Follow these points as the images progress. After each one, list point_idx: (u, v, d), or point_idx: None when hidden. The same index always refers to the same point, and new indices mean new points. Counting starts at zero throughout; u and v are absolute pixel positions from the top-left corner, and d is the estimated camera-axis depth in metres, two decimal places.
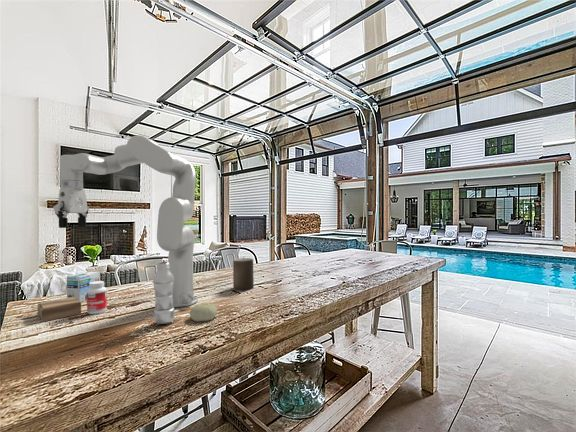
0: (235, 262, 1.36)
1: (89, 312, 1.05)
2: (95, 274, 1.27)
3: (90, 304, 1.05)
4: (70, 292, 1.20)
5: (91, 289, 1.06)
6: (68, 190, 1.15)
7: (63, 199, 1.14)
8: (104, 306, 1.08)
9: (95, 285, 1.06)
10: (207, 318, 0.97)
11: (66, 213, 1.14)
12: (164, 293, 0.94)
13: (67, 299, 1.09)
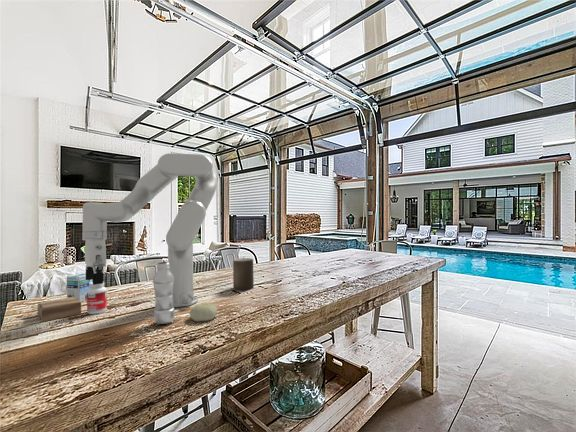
0: (235, 262, 1.36)
1: (89, 312, 1.05)
2: None
3: (90, 304, 1.05)
4: (70, 292, 1.20)
5: (91, 289, 1.06)
6: (104, 242, 1.06)
7: (99, 252, 1.04)
8: (104, 306, 1.08)
9: (95, 285, 1.06)
10: (207, 318, 0.97)
11: None
12: (164, 293, 0.94)
13: (67, 299, 1.09)
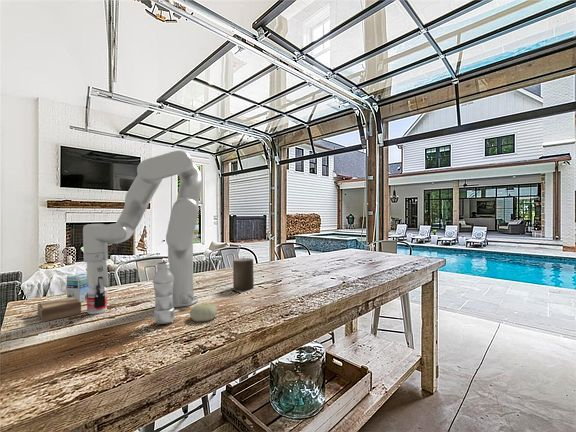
0: (235, 262, 1.36)
1: (89, 312, 1.05)
2: None
3: (90, 304, 1.05)
4: (70, 292, 1.20)
5: (91, 289, 1.06)
6: (105, 264, 1.06)
7: (101, 276, 1.05)
8: (104, 306, 1.08)
9: None
10: (207, 318, 0.97)
11: None
12: (164, 293, 0.94)
13: (67, 299, 1.09)
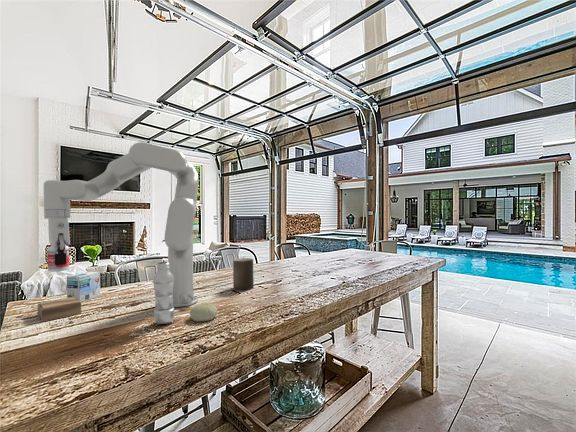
0: (235, 262, 1.36)
1: (49, 269, 1.03)
2: (95, 274, 1.27)
3: (50, 261, 1.03)
4: (70, 292, 1.20)
5: (52, 246, 1.04)
6: (67, 221, 1.04)
7: (62, 232, 1.03)
8: (65, 264, 1.05)
9: None
10: (207, 318, 0.97)
11: None
12: (164, 293, 0.94)
13: (67, 299, 1.09)
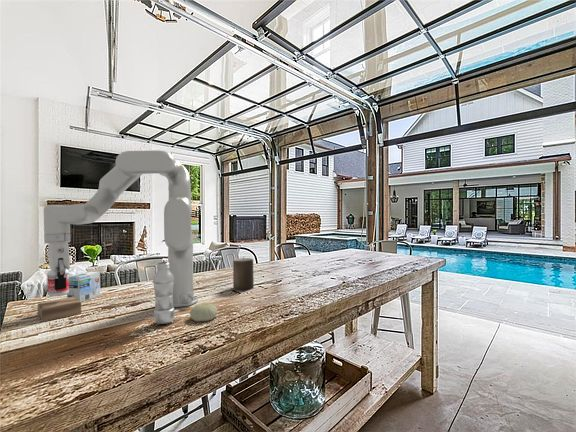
0: (235, 262, 1.36)
1: (49, 294, 1.03)
2: (95, 274, 1.27)
3: (50, 286, 1.03)
4: (70, 292, 1.20)
5: (51, 271, 1.04)
6: (67, 245, 1.04)
7: (62, 257, 1.03)
8: (65, 288, 1.06)
9: (56, 267, 1.04)
10: (207, 318, 0.97)
11: (64, 272, 1.04)
12: (164, 293, 0.94)
13: (67, 299, 1.09)
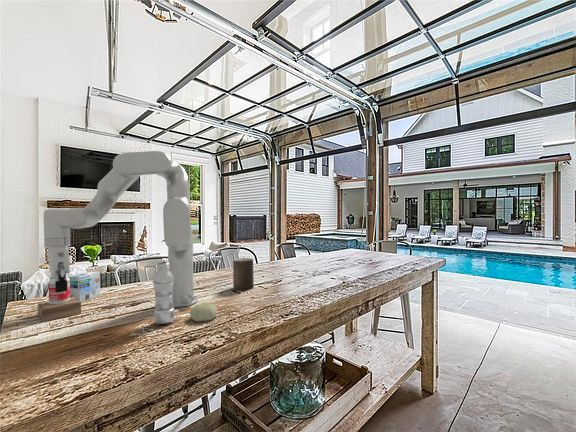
0: (235, 262, 1.36)
1: (50, 302, 1.03)
2: (95, 274, 1.27)
3: (51, 294, 1.03)
4: (70, 292, 1.20)
5: (52, 279, 1.04)
6: (67, 249, 1.04)
7: (62, 260, 1.03)
8: (66, 296, 1.06)
9: None
10: (207, 318, 0.96)
11: (65, 275, 1.04)
12: (164, 293, 0.94)
13: None
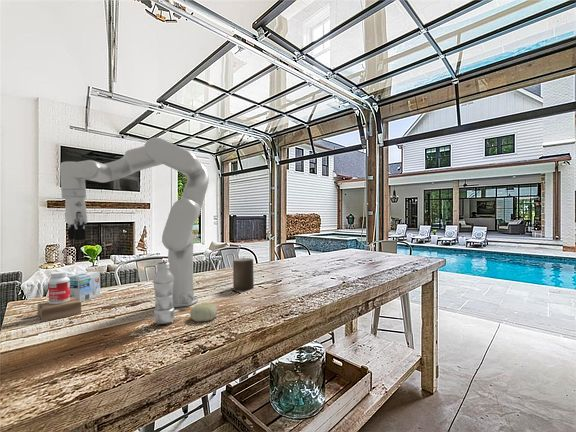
0: (235, 262, 1.36)
1: (50, 302, 1.03)
2: (95, 274, 1.27)
3: (51, 294, 1.03)
4: (70, 292, 1.20)
5: (52, 279, 1.04)
6: (83, 200, 1.09)
7: (79, 209, 1.08)
8: (66, 296, 1.06)
9: (57, 275, 1.04)
10: (207, 318, 0.96)
11: None
12: (164, 293, 0.94)
13: None
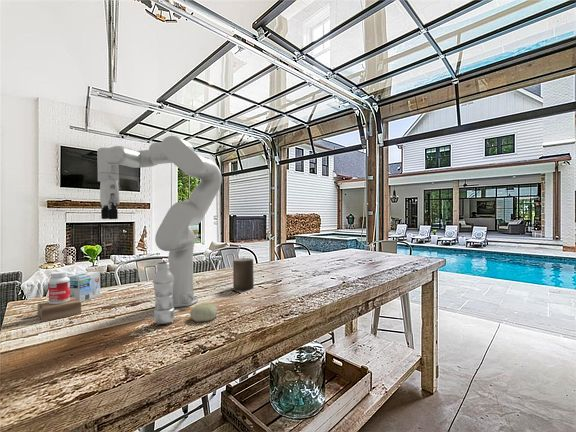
0: (235, 262, 1.36)
1: (50, 302, 1.03)
2: (95, 274, 1.27)
3: (51, 294, 1.03)
4: (70, 292, 1.20)
5: (52, 279, 1.04)
6: (117, 183, 1.20)
7: (113, 191, 1.18)
8: (66, 296, 1.06)
9: (57, 275, 1.04)
10: (207, 318, 0.96)
11: None
12: (164, 293, 0.94)
13: None
